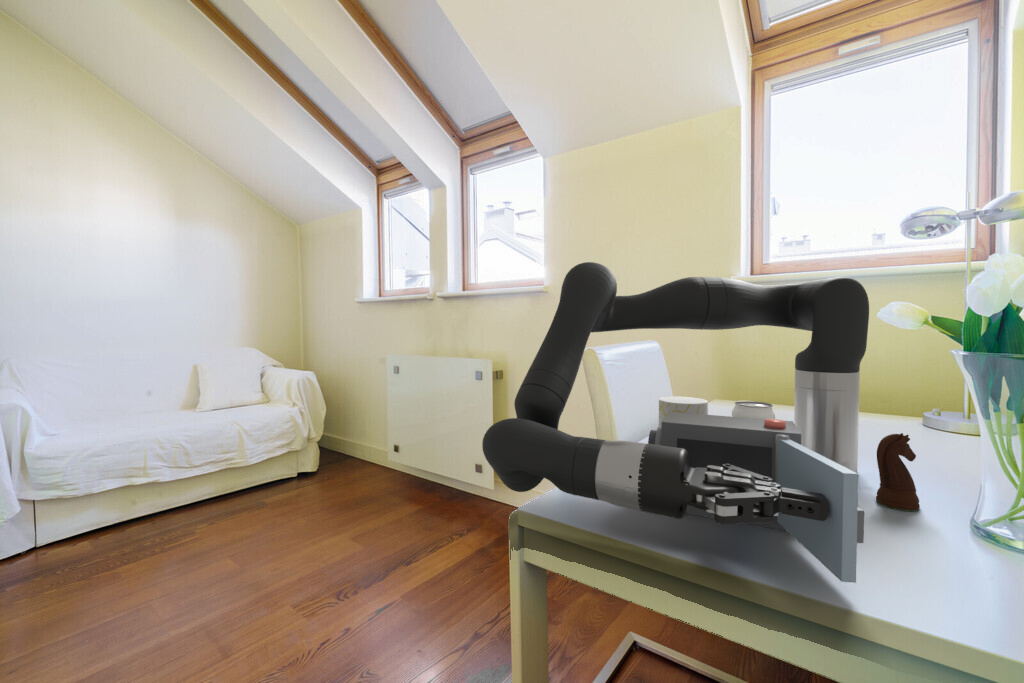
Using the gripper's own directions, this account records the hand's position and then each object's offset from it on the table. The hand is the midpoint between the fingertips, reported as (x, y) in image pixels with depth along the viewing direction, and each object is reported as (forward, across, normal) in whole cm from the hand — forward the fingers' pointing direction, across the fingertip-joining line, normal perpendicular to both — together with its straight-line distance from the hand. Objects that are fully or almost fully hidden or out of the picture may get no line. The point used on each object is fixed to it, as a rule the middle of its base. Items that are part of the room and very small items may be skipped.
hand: (826, 507), depth 42 cm
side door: (0, +5, +6) cm, 8 cm away
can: (-6, +33, +7) cm, 35 cm away
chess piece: (+12, +28, +7) cm, 31 cm away
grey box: (-9, +15, +7) cm, 19 cm away
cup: (-17, +32, +8) cm, 37 cm away
